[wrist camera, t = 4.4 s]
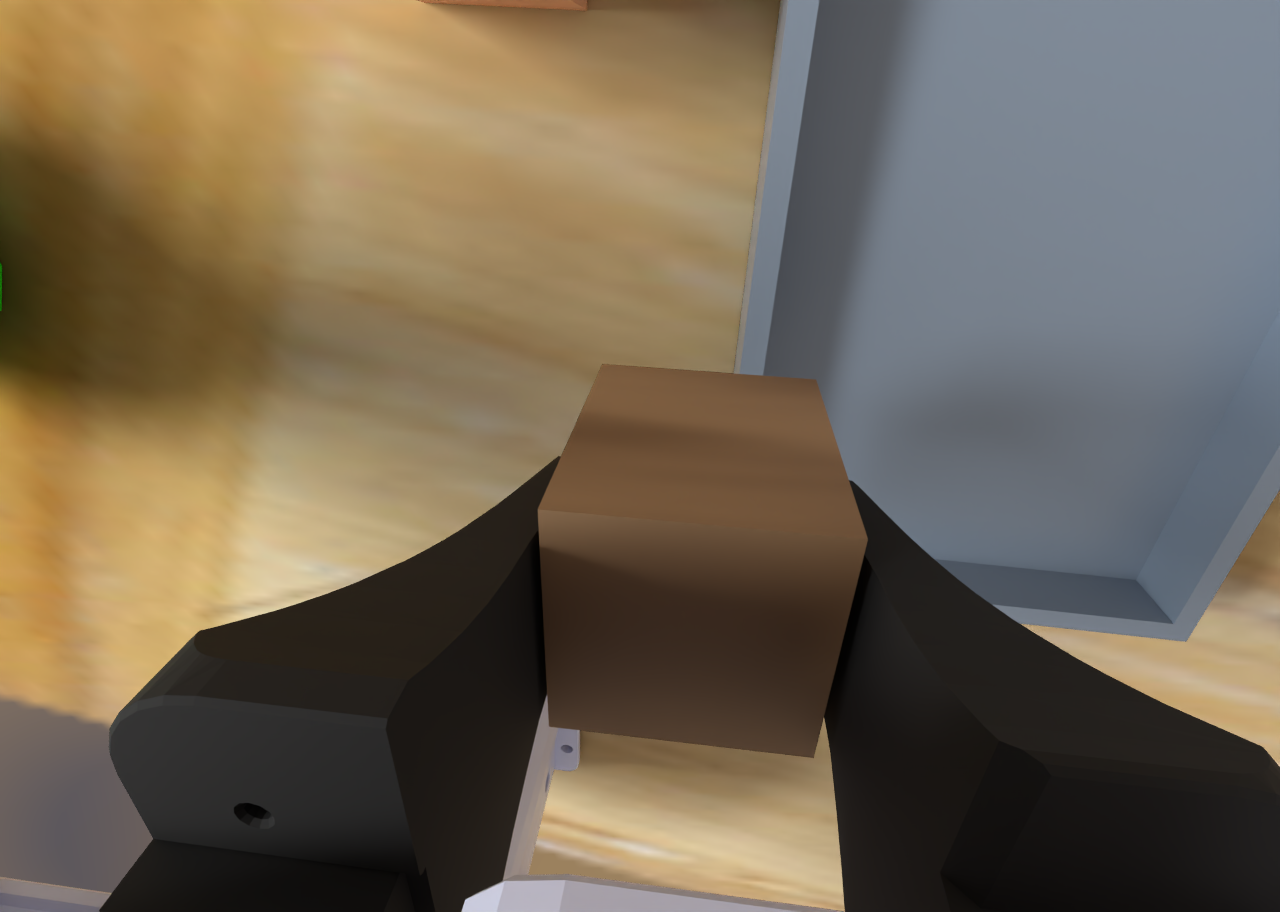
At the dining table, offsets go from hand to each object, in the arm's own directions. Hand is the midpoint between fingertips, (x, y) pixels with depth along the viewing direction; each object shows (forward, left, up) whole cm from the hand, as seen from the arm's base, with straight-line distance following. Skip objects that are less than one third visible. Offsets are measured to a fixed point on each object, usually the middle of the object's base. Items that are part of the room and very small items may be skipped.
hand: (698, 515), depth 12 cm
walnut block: (0, 0, -2) cm, 2 cm away
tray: (+3, -8, -9) cm, 12 cm away
